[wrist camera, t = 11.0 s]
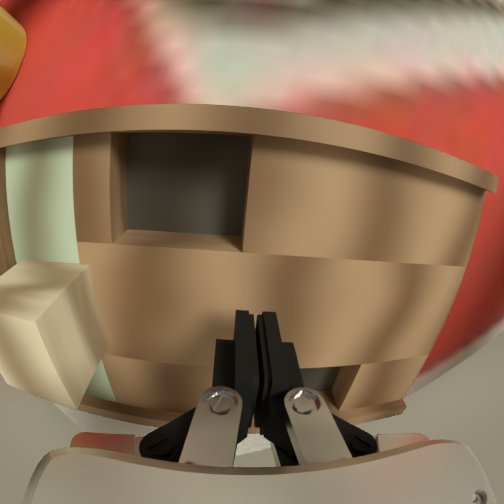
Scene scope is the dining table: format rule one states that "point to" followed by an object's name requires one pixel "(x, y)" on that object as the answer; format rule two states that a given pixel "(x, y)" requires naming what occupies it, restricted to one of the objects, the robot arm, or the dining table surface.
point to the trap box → (243, 245)
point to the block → (50, 330)
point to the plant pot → (10, 49)
